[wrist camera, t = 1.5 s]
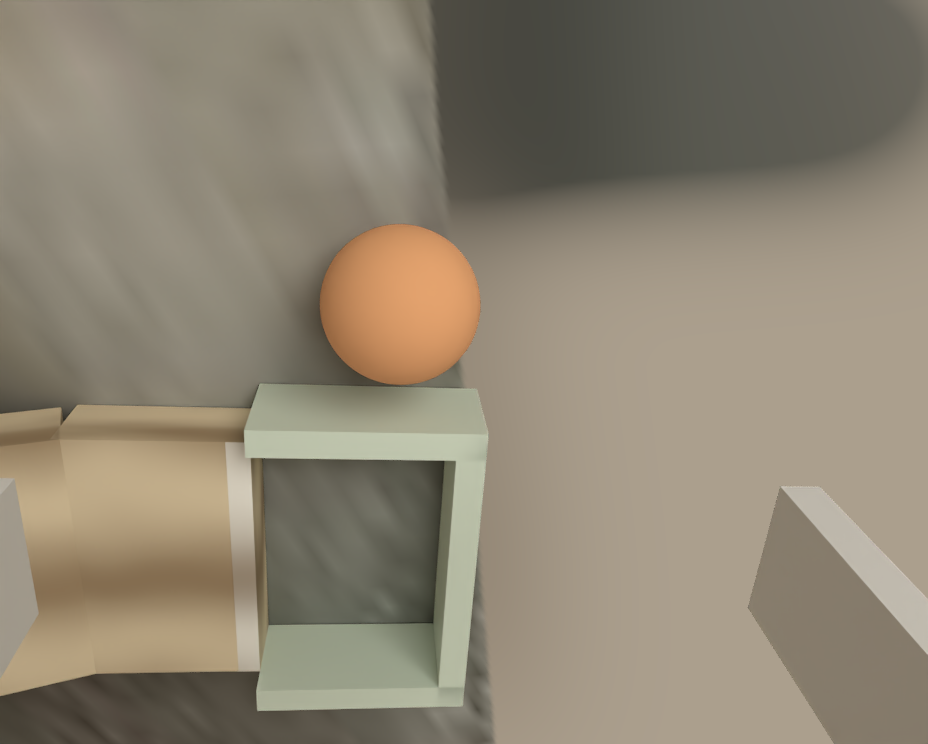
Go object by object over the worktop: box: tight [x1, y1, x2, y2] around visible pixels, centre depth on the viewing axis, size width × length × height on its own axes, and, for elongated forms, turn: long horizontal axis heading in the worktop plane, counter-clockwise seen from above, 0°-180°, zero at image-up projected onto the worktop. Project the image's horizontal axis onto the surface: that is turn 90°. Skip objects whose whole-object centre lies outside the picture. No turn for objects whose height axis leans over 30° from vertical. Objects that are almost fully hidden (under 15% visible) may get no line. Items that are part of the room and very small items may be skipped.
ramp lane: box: [0, 405, 269, 696], centre depth 27 cm, size 10×14×5 cm
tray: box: [244, 383, 489, 711], centre depth 29 cm, size 12×8×4 cm, turn 176°
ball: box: [320, 224, 480, 385], centre depth 24 cm, size 5×5×5 cm
